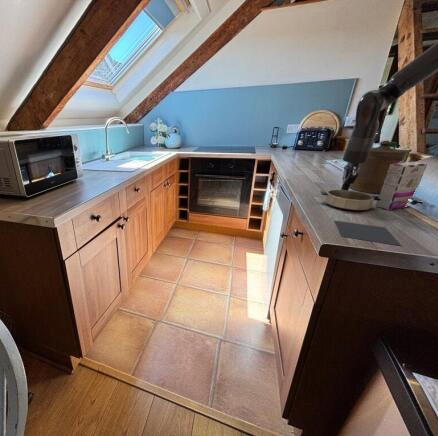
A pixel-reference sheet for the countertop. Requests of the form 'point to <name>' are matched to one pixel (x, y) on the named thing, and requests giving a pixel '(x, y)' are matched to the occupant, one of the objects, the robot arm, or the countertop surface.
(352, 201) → the pan
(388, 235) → the mat
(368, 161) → the wooden container
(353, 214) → the countertop surface
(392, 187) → the candy bar box
